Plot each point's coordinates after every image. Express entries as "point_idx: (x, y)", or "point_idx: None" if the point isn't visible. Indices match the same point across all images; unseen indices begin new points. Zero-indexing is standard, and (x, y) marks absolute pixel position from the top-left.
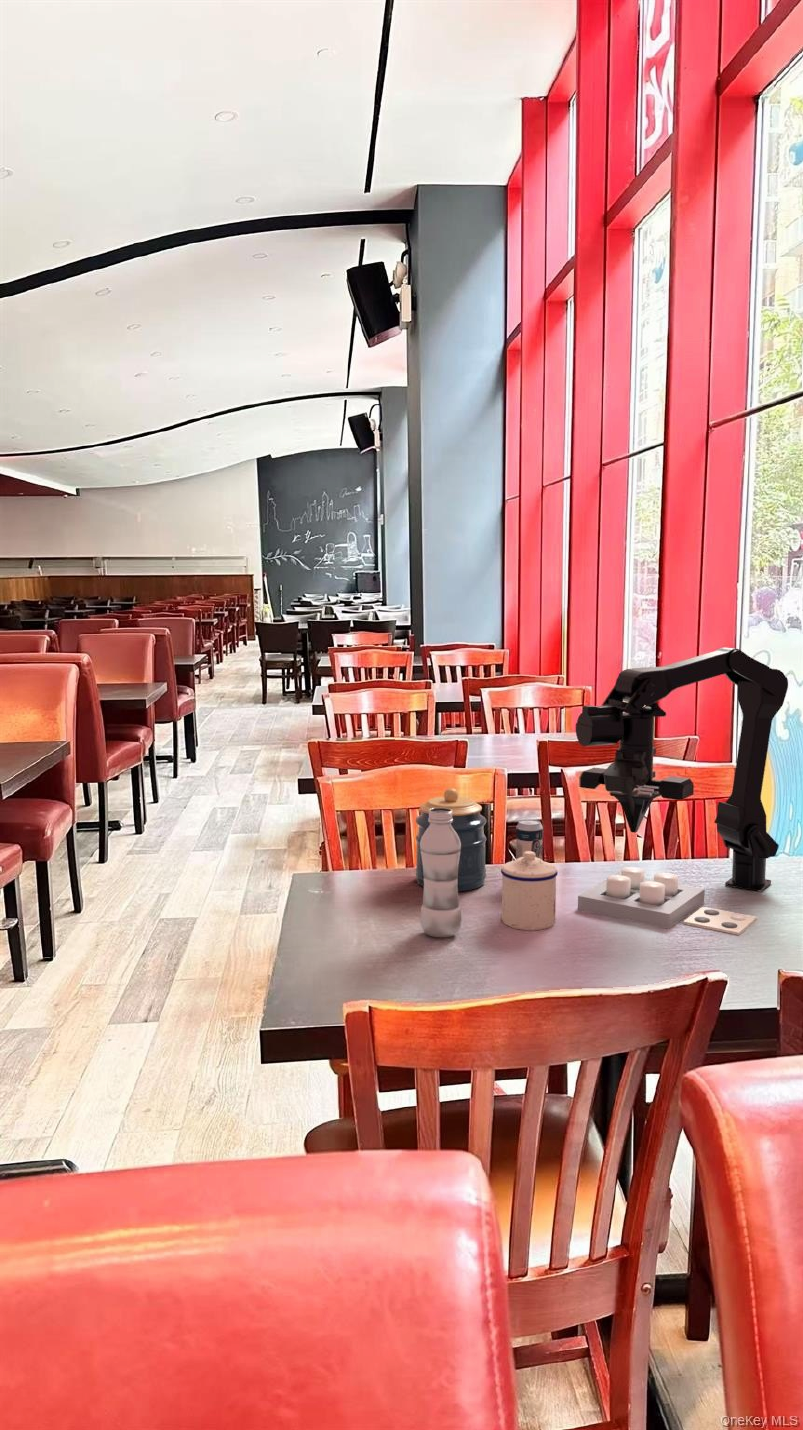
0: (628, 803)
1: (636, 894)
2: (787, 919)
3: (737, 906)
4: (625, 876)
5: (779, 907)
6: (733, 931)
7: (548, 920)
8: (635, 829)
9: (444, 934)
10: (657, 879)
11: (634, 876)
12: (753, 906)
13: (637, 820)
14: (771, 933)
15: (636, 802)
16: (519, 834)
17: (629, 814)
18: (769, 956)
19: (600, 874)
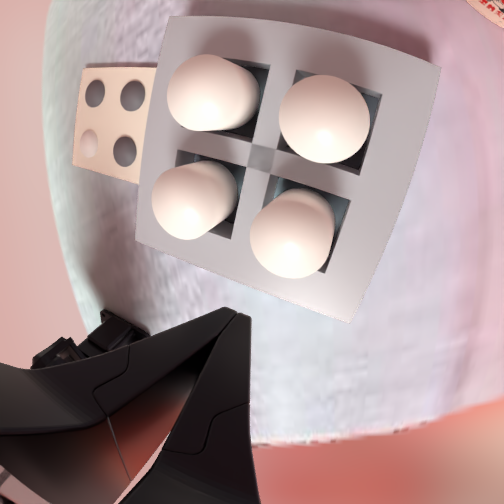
0: (155, 460)
1: (272, 130)
2: (52, 185)
3: (107, 225)
4: (303, 154)
5: (69, 240)
6: (89, 68)
7: None
8: (213, 313)
9: None
10: (201, 174)
11: (280, 199)
12: (91, 233)
13: (164, 333)
14: (57, 108)
15: (43, 405)
16: None
17: (205, 384)
18: (62, 17)
19: (389, 374)
